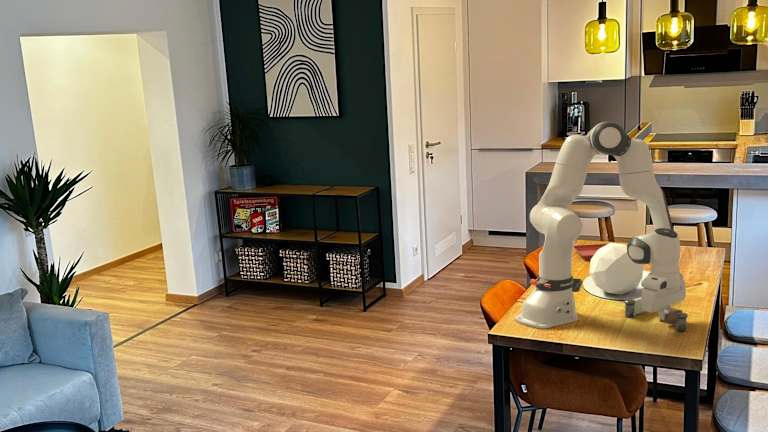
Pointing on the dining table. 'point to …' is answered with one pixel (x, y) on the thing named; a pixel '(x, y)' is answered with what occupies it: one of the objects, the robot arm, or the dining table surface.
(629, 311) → the gate posts
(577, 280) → the phone
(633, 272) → the geometric orb
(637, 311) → the bar
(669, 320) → the walnut block
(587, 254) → the plant saucer
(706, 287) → the dining table surface
